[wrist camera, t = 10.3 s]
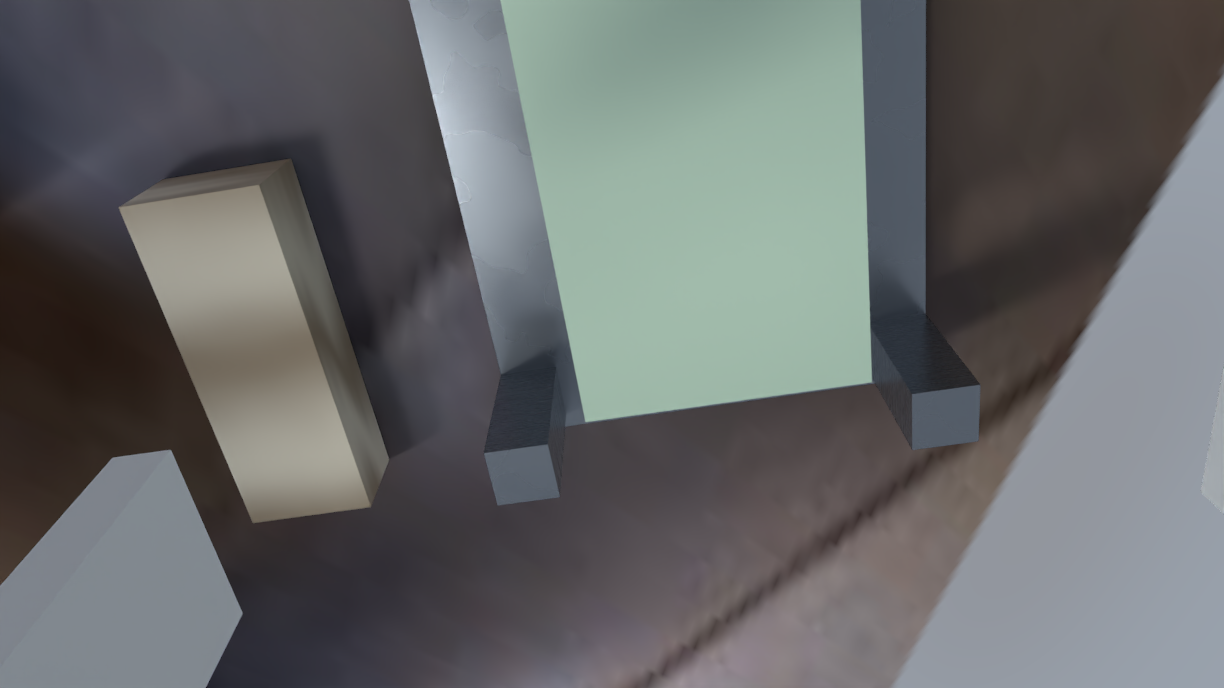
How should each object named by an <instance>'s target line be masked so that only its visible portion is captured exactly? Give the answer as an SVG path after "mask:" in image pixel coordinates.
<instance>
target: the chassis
mask: <svg viewBox="0 0 1224 688" xmlns="http://www.w3.org/2000/svg"><path fill="white" fill-rule="evenodd" d="M409 2H410V6H411V10H412V14H413V18H414V22H415V26H416V30H417V35H418V39H419V43H420V47H421V51H422V55H423V59H424V63H425V67H426V71H427V75H428V79H429V83H430V88H431V92H432V96H433V100H434V104H435V108H436V112H437V116H438V120H439V124H440V128H441V132H442V136H443V141H444V145H445V149H446V153H447V157H448V161H449V165H450V169H451V173H452V177H453V181H454V185H455V189H456V194H457V198H458V202H459V206H460V210H461V214H462V218H463V222H464V226H465V230H466V234H467V238H468V242H469V247H470V251H471V255H472V259H473V263H474V267H475V271H476V275H477V279H478V283H479V287H480V291H481V295H482V300H483V304H484V308H485V312H486V316H487V320H488V324H489V328H490V332H491V336H492V340H493V344H494V348H495V353H496V357H497V361H498V365H499V369H500V373H501V377H500V382H499V386H498V391H497V395H496V400H495V404H494V409H493V413H492V418H491V422H490V427H489V431H488V436H487V441H486V445H485V450H484V456H485V460H486V464H487V467H488V471H489V475H490V479H491V482H492V486H493V490H494V494H495V497H496V501H497V505H505V504H513V503H520V502H528V501H535V500H543V499H550V498H557V497H560V489H561V476H562V463H563V450H564V436H565V427H566V426H573V425H580V424H587V423H594V422H602V421H609V420H616V419H623V418H630V417H637V416H645V415H652V414H659V413H666V412H673V411H681V410H688V409H695V408H702V407H709V406H717V405H724V404H731V403H738V402H745V401H753V400H760V399H767V398H774V397H781V396H789V395H796V394H803V393H810V392H817V391H825V390H832V389H839V388H846V387H853V386H860V385H868V384H876V386H877V388H878V389H879V391H880V393H881V395H882V397H883V398H884V400H885V402H886V404H887V405H888V407H889V409H890V411H891V413H892V414H893V416H894V418H895V420H896V422H897V423H898V425H899V427H900V429H901V431H902V432H903V434H904V436H905V438H906V439H907V441H908V443H909V445H910V447H911V448H912V450H916V449H924V448H931V447H939V446H946V445H953V444H961V443H968V442H976V441H978V440H979V410H980V384H979V382H978V381H977V380H976V379H975V377H974V376H973V375H972V373H971V372H970V371H969V369H968V368H967V367H966V366H965V364H964V363H963V362H962V360H961V359H960V358H959V357H958V355H957V354H956V353H955V351H954V350H953V349H952V347H951V346H950V345H949V344H948V342H947V341H946V340H945V338H944V337H943V336H942V335H941V333H940V332H939V331H938V329H937V328H936V327H935V326H934V324H933V323H932V322H931V320H930V319H929V318H928V316H927V315H926V0H861V33H862V66H863V100H864V133H865V167H866V200H867V233H868V267H869V300H870V334H871V367H872V382H871V383H864V384H857V385H850V386H842V387H835V388H828V389H821V390H814V391H807V392H799V393H792V394H785V395H778V396H771V397H763V398H756V399H749V400H742V401H735V402H727V403H720V404H713V405H706V406H699V407H692V408H684V409H677V410H670V411H663V412H656V413H648V414H641V415H634V416H627V417H620V418H612V419H605V420H598V421H591V422H585V417H584V412H583V407H582V402H581V397H580V392H579V387H578V382H577V378H576V373H575V368H574V363H573V358H572V353H571V348H570V343H569V338H568V333H567V328H566V323H565V318H564V313H563V308H562V303H561V298H560V293H559V288H558V283H557V278H556V273H555V268H554V263H553V259H552V254H551V249H550V244H549V239H548V234H547V229H546V224H545V219H544V214H543V209H542V204H541V199H540V194H539V189H538V184H537V179H536V174H535V169H534V164H533V159H532V154H531V149H530V144H529V140H528V135H527V130H526V125H525V120H524V115H523V110H522V105H521V100H520V95H519V90H518V85H517V80H516V75H515V70H514V65H513V60H512V55H511V50H510V45H509V40H508V35H507V30H506V25H505V21H504V16H503V11H502V6H501V1H500V0H409Z"/></svg>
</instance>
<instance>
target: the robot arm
mask: <svg viewBox="0 0 1224 688" xmlns="http://www.w3.org/2000/svg"><path fill="white" fill-rule="evenodd" d="M1201 493H1202V494H1203V495H1204V496H1205V497H1206V498H1207V499H1208V500H1210V501H1211V502H1212V503H1213V504H1214V505H1215V506H1216V507H1217V508H1218V509H1219V510H1220V511H1221V512H1222V513H1223V514H1224V367H1223V373H1222V378H1221V383H1220V389H1219V394H1218V400H1217V405H1216V411H1215V416H1214V422H1213V427H1212V433H1211V438H1210V444H1209V449H1208V455H1207V460H1206V466H1205V471H1204V477H1203V482H1202V488H1201ZM242 614H243V613H242V610H241V608H240V606H239V604H238V601H237V599H236V597H235V595H234V592H233V590H232V588H231V585H230V583H229V581H228V579H227V576H226V574H225V572H224V570H223V567H222V565H221V563H220V560H219V558H218V556H217V554H216V551H215V549H214V547H213V545H212V542H211V540H210V538H209V535H208V533H207V531H206V529H205V526H204V524H203V522H202V520H201V517H200V515H199V513H198V510H197V508H196V506H195V504H194V501H193V499H192V497H191V495H190V492H189V490H188V488H187V485H186V483H185V481H184V479H183V476H182V474H181V472H180V470H179V467H178V465H177V463H176V460H175V458H174V456H173V454H172V451H171V450H165V451H157V452H150V453H143V454H136V455H128V456H121V457H114V458H112V459H111V460H110V461H109V462H108V463H107V464H106V466H105V467H104V468H103V469H102V470H101V471H100V472H99V474H98V475H97V476H96V477H95V478H94V479H93V480H92V482H91V483H90V484H89V485H88V486H87V487H86V488H85V490H84V491H83V492H82V493H81V494H80V495H79V496H78V498H77V499H76V500H75V501H74V502H73V503H72V504H71V506H70V507H69V508H68V509H67V510H66V511H65V512H64V514H63V515H62V516H61V517H60V518H59V519H58V520H57V522H56V523H55V524H54V525H53V526H52V527H51V528H50V529H49V531H48V532H47V533H46V534H45V535H44V536H43V537H42V539H41V540H40V541H39V542H38V543H37V544H36V545H35V547H34V548H33V549H32V550H31V551H30V552H29V553H28V555H27V556H26V557H25V558H24V559H23V560H22V561H21V563H20V564H19V565H18V566H17V567H16V568H15V569H14V571H13V572H12V573H11V574H10V575H9V576H8V577H7V579H6V580H5V581H4V582H3V583H2V584H1V585H0V688H206V686H207V684H208V682H209V680H210V678H211V676H212V674H213V672H214V670H215V668H216V666H217V664H218V662H219V660H220V658H221V656H222V654H223V652H224V650H225V648H226V646H227V644H228V642H229V640H230V638H231V636H232V634H233V632H234V630H235V628H236V626H237V624H238V622H239V620H240V618H241V616H242Z"/></svg>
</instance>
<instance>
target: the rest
mask: <svg viewBox="0 0 1224 688" xmlns="http://www.w3.org/2000/svg"><path fill="white" fill-rule="evenodd" d="M118 208H119V210H120V212H121V215H122V217H123V219H124V222H125V224H126V226H127V229H128V231H129V234H130V236H131V238H132V241H133V243H134V245H135V248H136V250H137V252H138V255H139V257H140V259H141V262H142V264H143V266H144V269H145V271H146V273H147V276H148V278H149V280H150V283H151V285H152V287H153V290H154V292H155V295H156V297H157V299H158V302H159V304H160V306H161V309H162V311H163V313H164V316H165V318H166V320H167V323H168V325H169V327H170V330H171V332H172V334H173V337H174V339H175V341H176V344H177V346H178V349H179V351H180V353H181V356H182V358H183V360H184V363H185V365H186V367H187V370H188V372H189V374H190V377H191V379H192V381H193V384H194V386H195V388H196V391H197V393H198V395H199V398H200V400H201V402H202V405H203V407H204V410H205V412H206V414H207V417H208V419H209V421H210V424H211V426H212V428H213V431H214V433H215V435H216V438H217V440H218V442H219V445H220V447H221V449H222V452H223V454H224V456H225V459H226V461H227V464H228V466H229V468H230V471H231V473H232V475H233V478H234V480H235V482H236V485H237V487H238V489H239V492H240V494H241V496H242V499H243V501H244V503H245V506H246V508H247V510H248V513H249V515H250V517H251V520H252V522H253V523H257V522H264V521H272V520H279V519H287V518H294V517H302V516H309V515H316V514H324V513H331V512H339V511H346V510H353V509H361V508H368V507H371V506H372V503H373V500H374V498H375V495H376V493H377V490H378V488H379V485H380V482H381V480H382V477H383V475H384V472H385V469H386V467H387V464H388V462H389V457H388V454H387V451H386V448H385V445H384V442H383V439H382V436H381V433H380V430H379V427H378V424H377V421H376V418H375V414H374V411H373V408H372V405H371V402H370V399H369V396H368V393H367V390H366V387H365V384H364V381H363V378H362V375H361V372H360V369H359V365H358V362H357V359H356V356H355V353H354V350H353V347H352V344H351V341H350V338H349V335H348V332H347V329H346V326H345V323H344V319H343V316H342V313H341V310H340V307H339V304H338V301H337V298H336V295H335V292H334V289H333V286H332V283H331V280H330V277H329V273H328V270H327V267H326V264H325V261H324V258H323V255H322V252H321V249H320V246H319V243H318V240H317V237H316V234H315V231H314V228H313V224H312V221H311V218H310V215H309V212H308V209H307V206H306V203H305V200H304V197H303V194H302V191H301V188H300V185H299V182H298V178H297V175H296V172H295V169H294V166H293V163H292V160H291V159H285V160H279V161H273V162H267V163H261V164H254V165H248V166H242V167H236V168H230V169H224V170H217V171H211V172H205V173H199V174H193V175H187V176H181V177H174V178H168V179H163V180H161V181H160V182H158V183H156V184H155V185H153V186H152V187H150V188H148V189H147V190H145V191H144V192H142V193H141V194H139V195H137V196H136V197H134V198H133V199H131V200H129V201H128V202H126V203H125V204H123V205H122V206H120V207H118Z"/></svg>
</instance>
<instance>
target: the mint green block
mask: <svg viewBox="0 0 1224 688" xmlns="http://www.w3.org/2000/svg"><path fill="white" fill-rule="evenodd" d="M500 1H501V6H502V11H503V16H504V21H505V25H506V30H507V35H508V40H509V45H510V50H511V55H512V60H513V65H514V70H515V75H516V80H517V85H518V90H519V95H520V100H521V105H522V110H523V115H524V120H525V125H526V130H527V135H528V140H529V144H530V149H531V154H532V159H533V164H534V169H535V174H536V179H537V184H538V189H539V194H540V199H541V204H542V209H543V214H544V219H545V224H546V229H547V234H548V239H549V244H550V249H551V254H552V259H553V263H554V268H555V273H556V278H557V283H558V288H559V293H560V298H561V303H562V308H563V313H564V318H565V323H566V328H567V333H568V338H569V343H570V348H571V353H572V358H573V363H574V368H575V373H576V378H577V382H578V387H579V392H580V397H581V402H582V407H583V412H584V417H585V422H591V421H598V420H605V419H612V418H620V417H627V416H634V415H641V414H648V413H656V412H663V411H670V410H677V409H684V408H692V407H699V406H706V405H713V404H720V403H727V402H735V401H742V400H749V399H756V398H763V397H771V396H778V395H785V394H792V393H799V392H807V391H814V390H821V389H828V388H835V387H842V386H850V385H857V384H864V383H871V382H872V367H871V334H870V300H869V267H868V233H867V200H866V167H865V133H864V100H863V66H862V33H861V0H500Z"/></svg>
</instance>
